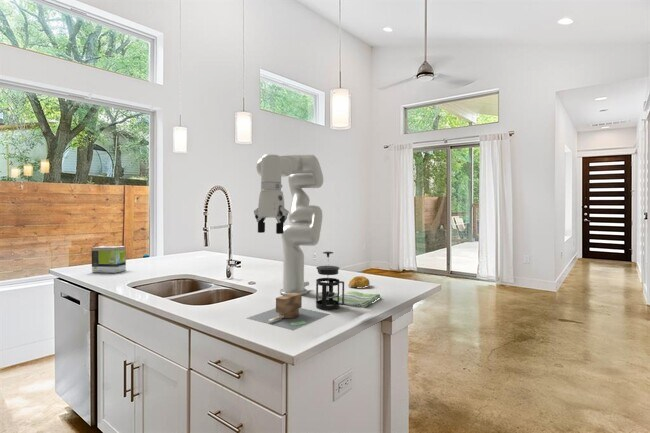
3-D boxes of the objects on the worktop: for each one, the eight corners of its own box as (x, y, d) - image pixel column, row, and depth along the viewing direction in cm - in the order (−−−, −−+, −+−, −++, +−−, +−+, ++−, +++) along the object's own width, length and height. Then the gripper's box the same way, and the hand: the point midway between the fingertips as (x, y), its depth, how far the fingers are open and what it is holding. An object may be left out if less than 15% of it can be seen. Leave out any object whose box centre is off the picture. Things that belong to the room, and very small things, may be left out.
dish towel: (321, 306, 154) (321, 298, 154) (347, 294, 174) (347, 287, 173) (359, 313, 145) (359, 304, 145) (382, 300, 165) (382, 292, 165)
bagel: (344, 285, 191) (344, 276, 190) (363, 284, 195) (363, 274, 195) (353, 290, 181) (353, 280, 181) (373, 288, 186) (373, 278, 186)
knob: (290, 310, 140) (290, 291, 140) (305, 313, 136) (305, 294, 136) (262, 320, 128) (262, 300, 127) (277, 324, 124) (277, 303, 123)
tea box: (126, 270, 226) (126, 245, 225) (115, 273, 216) (115, 247, 215) (103, 269, 227) (102, 245, 227) (91, 272, 217) (90, 247, 217)
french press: (310, 312, 143) (310, 252, 142) (318, 306, 152) (318, 249, 151) (340, 315, 140) (340, 254, 139) (346, 309, 149) (347, 251, 148)
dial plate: (285, 308, 148) (285, 304, 148) (329, 318, 137) (329, 313, 137) (246, 322, 131) (246, 317, 131) (293, 334, 119) (293, 329, 119)
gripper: (294, 187, 140) (294, 233, 140) (262, 189, 150) (261, 231, 150) (281, 186, 134) (280, 234, 134) (247, 187, 144) (247, 232, 144)
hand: (270, 233), depth 142 cm, fingers open, 9 cm apart
